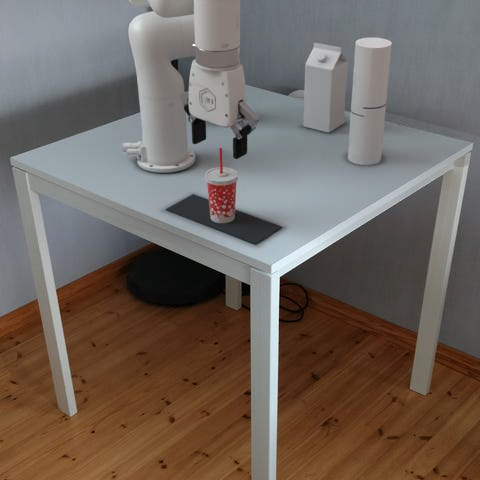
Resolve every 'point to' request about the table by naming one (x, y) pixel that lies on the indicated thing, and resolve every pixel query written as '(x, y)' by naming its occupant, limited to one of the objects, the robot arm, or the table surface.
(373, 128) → the cylindrical container
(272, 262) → the table surface
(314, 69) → the milk carton
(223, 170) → the beverage cup
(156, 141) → the robot arm
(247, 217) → the mat
